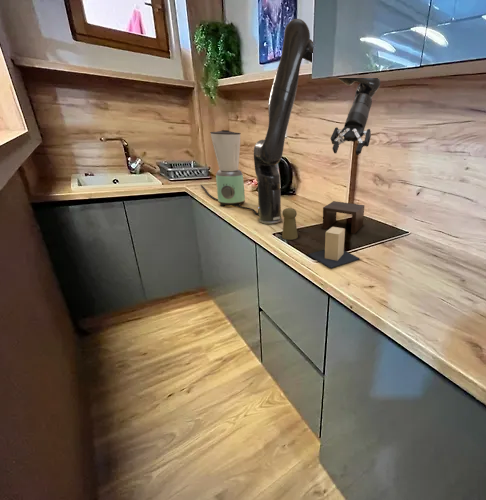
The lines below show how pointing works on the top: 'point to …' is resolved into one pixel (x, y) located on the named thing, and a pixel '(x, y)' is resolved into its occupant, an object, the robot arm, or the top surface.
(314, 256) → the mat
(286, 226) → the olive pepper mill
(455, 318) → the top surface
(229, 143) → the green blender
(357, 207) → the shelf
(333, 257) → the block
